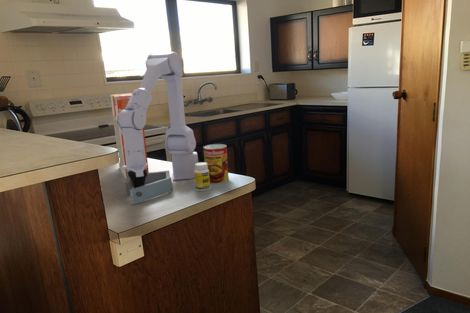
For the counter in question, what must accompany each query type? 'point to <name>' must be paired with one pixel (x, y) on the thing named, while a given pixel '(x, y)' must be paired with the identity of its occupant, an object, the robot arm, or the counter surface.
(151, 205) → the counter surface
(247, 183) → the counter surface
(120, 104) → the pasta box
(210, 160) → the canned food
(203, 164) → the supplement bottle
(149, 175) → the housing
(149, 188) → the door
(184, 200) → the counter surface
